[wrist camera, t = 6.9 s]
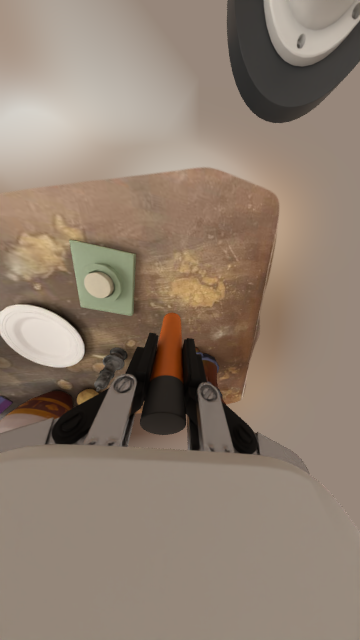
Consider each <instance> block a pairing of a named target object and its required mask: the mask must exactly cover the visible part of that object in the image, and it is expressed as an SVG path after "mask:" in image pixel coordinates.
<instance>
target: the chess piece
mask: <svg viewBox="0 0 360 640" xmlns="http://www.w3.org/2000/svg"><path fill="white" fill-rule="evenodd" d="M126 358H127V353H126V351H125V350H123V349H121V348H113V349H111V350H110V354H109V355H107V356H106V357H104V359H103V364H104V365H105V367H104V369H103V370H101V371H100V375H99V377H98V378H97V380H96V382H95V384H94V385H95V387H96V388H97V389H96V392H98V391H99V389H105V388H106V387H107V385H108V383H109V382H110V380H111V379H112V378H113V377H114V373H115V371H116V370H120V369H122V368H123V367H124V360H125V359H126Z"/></svg>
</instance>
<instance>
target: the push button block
mask: <svg viewBox="0 0 360 640" xmlns="http://www.w3.org/2000/svg"><path fill="white" fill-rule="evenodd" d="M69 241H70V247H71V253H72V259H73V264H74V270H75V276H76V282H77V288H78V294H79V299H80V305H81V307H84V308H89V309H95V310H101V311H106V312H112V313H118V314H124V315H129V316H132V315H133V313H134V287H135V262H136V254H133V253H129V252H125V251H120V250H116V249H111V248H107V247H103V246H98V245H94V244H89V243H85V242H81V241H76V240H69ZM93 272H103V273H105V274H107V275H108V276H109V277H110V278H111V279H112V281H113V283H114V290H113V292H112V293H111V294H110V295H109V296H107V297H105V298H97V297H94V296H92V295H91V294H90V293H89V292H88V291H87V290H86V288H85V285H84V279H85V277H86V276H87V275H88V274H90V273H93Z"/></svg>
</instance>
